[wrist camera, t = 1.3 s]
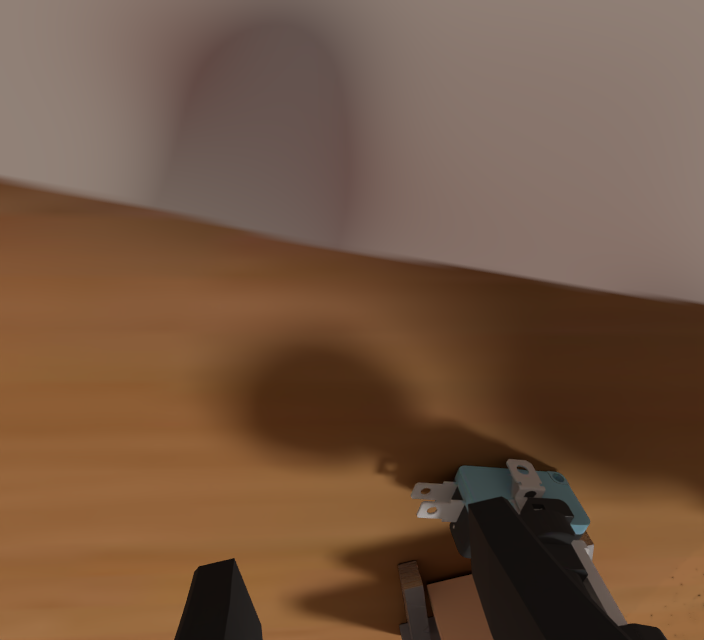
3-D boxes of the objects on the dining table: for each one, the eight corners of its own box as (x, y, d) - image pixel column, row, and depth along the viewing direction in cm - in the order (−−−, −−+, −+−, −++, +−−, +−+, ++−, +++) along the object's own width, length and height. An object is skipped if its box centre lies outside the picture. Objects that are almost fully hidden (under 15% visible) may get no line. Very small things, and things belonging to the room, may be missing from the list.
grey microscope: (390, 524, 25) (470, 823, 17) (431, 424, 22) (550, 718, 14) (534, 531, 27) (671, 803, 18) (587, 439, 24) (775, 707, 16)
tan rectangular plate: (556, 553, 27) (608, 652, 24) (556, 564, 28) (606, 663, 24) (426, 584, 27) (457, 690, 23) (428, 595, 28) (458, 700, 24)
